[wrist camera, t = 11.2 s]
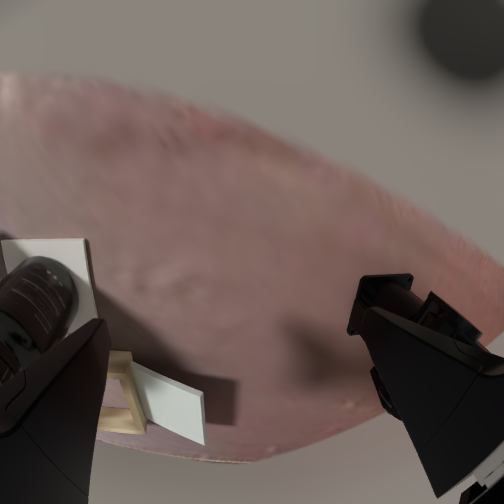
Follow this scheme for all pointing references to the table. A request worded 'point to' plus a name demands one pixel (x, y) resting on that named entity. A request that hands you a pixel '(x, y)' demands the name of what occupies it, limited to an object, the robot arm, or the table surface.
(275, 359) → the table surface
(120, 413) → the frame
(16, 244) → the felt mat
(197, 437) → the frame lid
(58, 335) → the supplement bottle
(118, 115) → the table surface
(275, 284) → the table surface
